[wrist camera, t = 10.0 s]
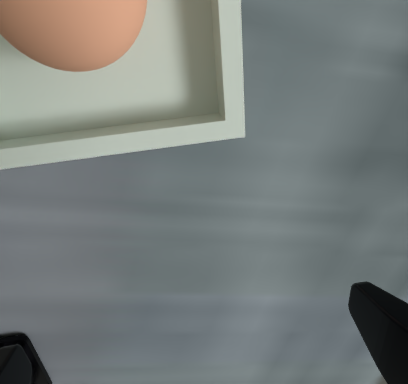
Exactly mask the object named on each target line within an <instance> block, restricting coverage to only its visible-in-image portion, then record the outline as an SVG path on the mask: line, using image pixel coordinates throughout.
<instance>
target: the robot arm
mask: <svg viewBox="0 0 408 384" xmlns="http://www.w3.org/2000/svg"><path fill="white" fill-rule="evenodd" d="M348 306H349V311H350V314H351V316H352V318H353V320H354V322H355V324H356V326H357V328H358V330H359V332H360V334H361V336H362V338H363V340H364V342H365V344H366V346H367V348H368V350H369V352H370V354H371V356H372V358H373V360H374V362H375V363H376V365H377V367H378V369H379V371H380V372H381V374H382V376H383V377H384V379H385V380H386V382H387V384H408V303H406V302H404V301H403V300H401V299H399V298H397V297H395V296H393V295H392V294H390V293H388V292H386V291H384V290H382V289H381V288H379V287H377V286H375V285H373V284H372V283H370V282H359V283H354V284H353V285H352V286H351V291H350V297H349V303H348ZM0 384H52V381H51V379H50V377H49V375H48V373H47V371H46V370H45V368H44V366H43V364H42V362H41V360H40V358H39V356H38V354H37V352H36V350H35V349H34V347H33V345H32V343H31V341H30V339H29V338H28V337H27V336H25V335H18V336H12V337H7V338H1V339H0Z"/></svg>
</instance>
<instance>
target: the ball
mask: <svg viewBox="0 0 408 384" xmlns="http://www.w3.org/2000/svg"><path fill="white" fill-rule="evenodd" d="M146 7H147V0H0V34H1V35H2V36H3V37H4V38H5V39H6V40H7V41H8V42H9V43H10V44H11V45H12V46H14V47H15V48H16V49H17V50H19V51H20V52H21V53H23V54H25V55H26V56H28V57H29V58H31V59H33V60H35V61H37V62H39V63H41V64H43V65H46V66H48V67H51V68H54V69H58V70H63V71H71V72H84V71H92V70H97V69H100V68H103V67H106V66H108V65H110V64H112V63H114V62H115V61H116V60H118V59H119V58H121V57H122V56H123V55H124V54H125V53H126V52H127V51H128V50H129V49H130V47H131V46H132V45H133V43H134V42H135V40H136V38H137V37H138V35H139V33H140V30H141V28H142V25H143V22H144V18H145V15H146Z"/></svg>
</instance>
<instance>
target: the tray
mask: <svg viewBox="0 0 408 384" xmlns="http://www.w3.org/2000/svg"><path fill="white" fill-rule="evenodd" d="M240 137H245V116H244V86H243V55H242V24H241V0H147V7H146V15H145V18H144V22H143V25H142V28H141V30H140V33H139V35H138V37H137V38H136V40H135V42H134V43H133V45H132V46H131V47H130V49H129V50H128V51H127V52H126V53H125V54H124V55H123V56H122V57H121V58H119V59H118V60H116V61H115V62H114V63H112V64H110V65H108V66H106V67H103V68H100V69H97V70H92V71H84V72H71V71H63V70H58V69H54V68H51V67H48V66H46V65H43V64H41V63H39V62H37V61H35V60H33V59H31V58H29V57H28V56H26V55H25V54H23V53H21V52H20V51H19V50H17V49H16V48H15V47H14V46H12V45H11V44H10V43H9V42H8V41H7V40H6V39H5V38H4V37H3V36H2V35H1V34H0V170H1V169H9V168H16V167H23V166H31V165H38V164H46V163H53V162H61V161H68V160H76V159H83V158H91V157H98V156H106V155H113V154H121V153H128V152H136V151H143V150H150V149H158V148H165V147H173V146H180V145H188V144H195V143H203V142H210V141H218V140H225V139H233V138H240Z"/></svg>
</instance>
